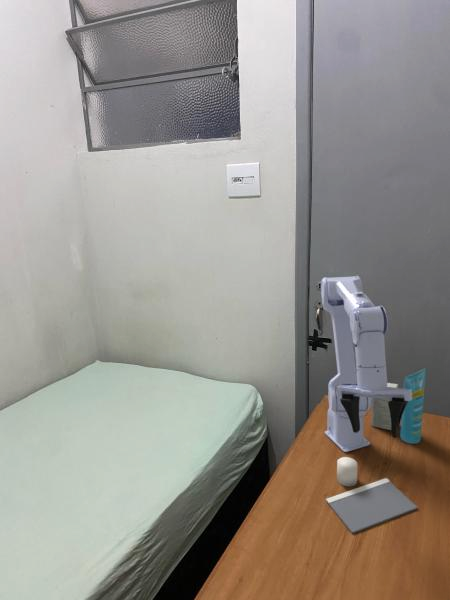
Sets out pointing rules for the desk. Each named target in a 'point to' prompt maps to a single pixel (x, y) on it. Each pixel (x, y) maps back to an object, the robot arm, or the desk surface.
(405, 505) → the gray book
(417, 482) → the desk surface
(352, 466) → the white tapered cylinder
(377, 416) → the skincare box
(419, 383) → the tube
